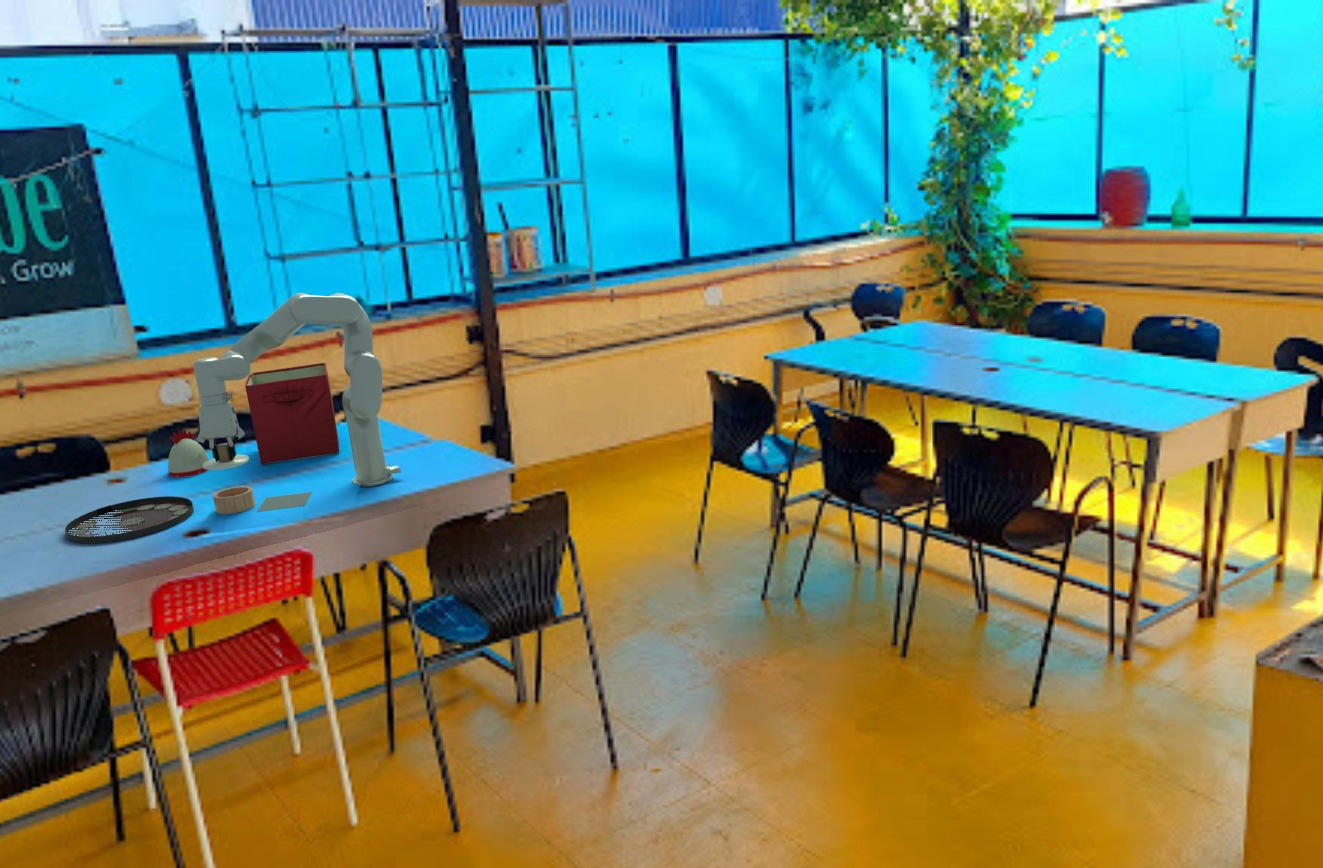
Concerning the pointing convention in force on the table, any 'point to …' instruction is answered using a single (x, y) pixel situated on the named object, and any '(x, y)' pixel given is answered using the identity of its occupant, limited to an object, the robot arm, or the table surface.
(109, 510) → the palette wheel
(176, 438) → the beanie hat
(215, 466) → the lid
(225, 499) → the bowl
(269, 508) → the mat
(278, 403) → the storage cube
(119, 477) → the table surface
